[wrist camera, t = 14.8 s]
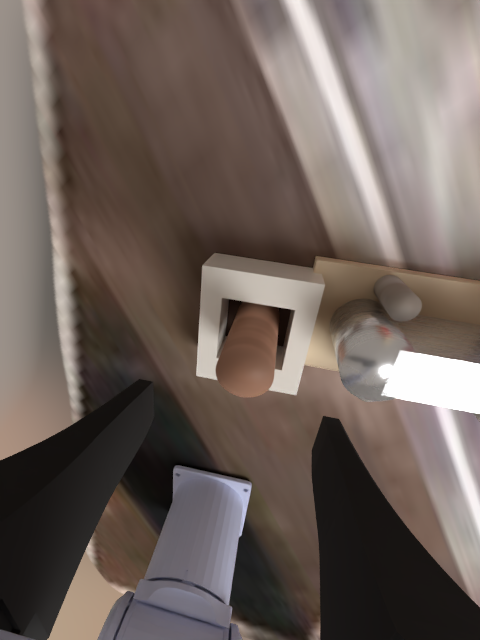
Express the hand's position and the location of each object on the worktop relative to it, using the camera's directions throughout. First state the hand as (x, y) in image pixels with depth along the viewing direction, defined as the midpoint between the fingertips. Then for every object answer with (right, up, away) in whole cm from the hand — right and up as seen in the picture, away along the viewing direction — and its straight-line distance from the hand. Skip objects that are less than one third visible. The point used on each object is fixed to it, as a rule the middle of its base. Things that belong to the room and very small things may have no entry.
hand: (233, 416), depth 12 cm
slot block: (+2, +4, +9) cm, 10 cm away
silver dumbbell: (+13, +3, +6) cm, 15 cm away
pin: (+2, +4, +9) cm, 10 cm away
